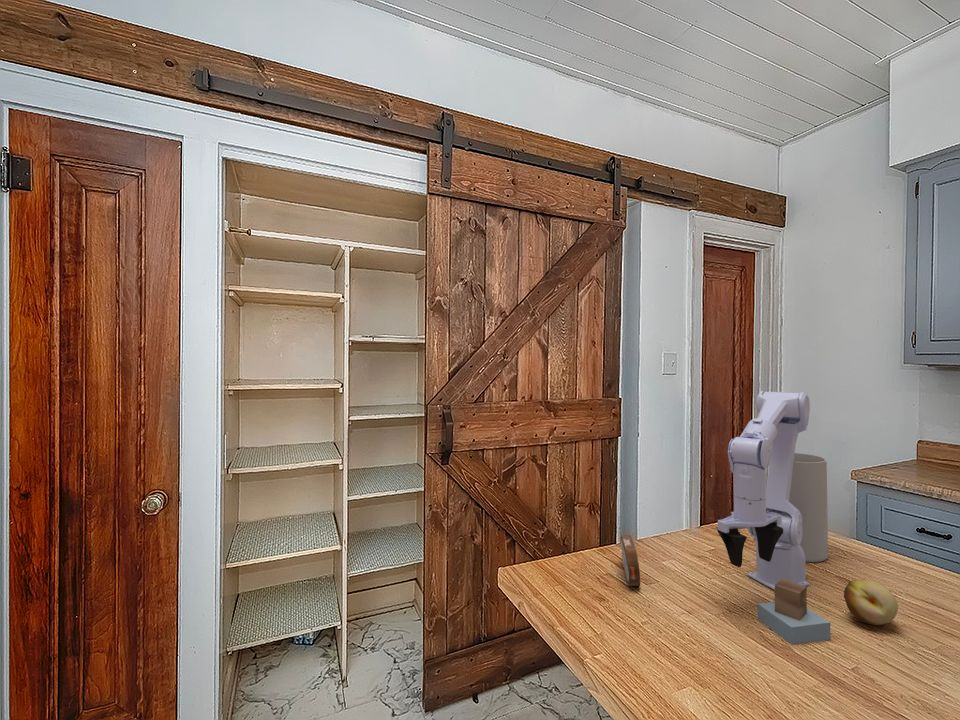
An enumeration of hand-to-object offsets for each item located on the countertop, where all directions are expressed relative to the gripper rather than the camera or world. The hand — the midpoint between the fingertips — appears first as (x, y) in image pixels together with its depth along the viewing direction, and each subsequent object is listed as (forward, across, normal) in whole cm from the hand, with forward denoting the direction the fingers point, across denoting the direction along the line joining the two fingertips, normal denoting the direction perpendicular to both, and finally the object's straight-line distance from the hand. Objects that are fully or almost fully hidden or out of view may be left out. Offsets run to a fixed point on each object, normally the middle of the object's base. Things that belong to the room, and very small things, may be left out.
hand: (750, 562), depth 93 cm
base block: (+10, -1, +8) cm, 13 cm away
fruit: (+10, -17, +11) cm, 23 cm away
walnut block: (+6, -1, +8) cm, 10 cm away
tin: (+10, +16, -19) cm, 27 cm away
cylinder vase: (+10, -34, -17) cm, 39 cm away
